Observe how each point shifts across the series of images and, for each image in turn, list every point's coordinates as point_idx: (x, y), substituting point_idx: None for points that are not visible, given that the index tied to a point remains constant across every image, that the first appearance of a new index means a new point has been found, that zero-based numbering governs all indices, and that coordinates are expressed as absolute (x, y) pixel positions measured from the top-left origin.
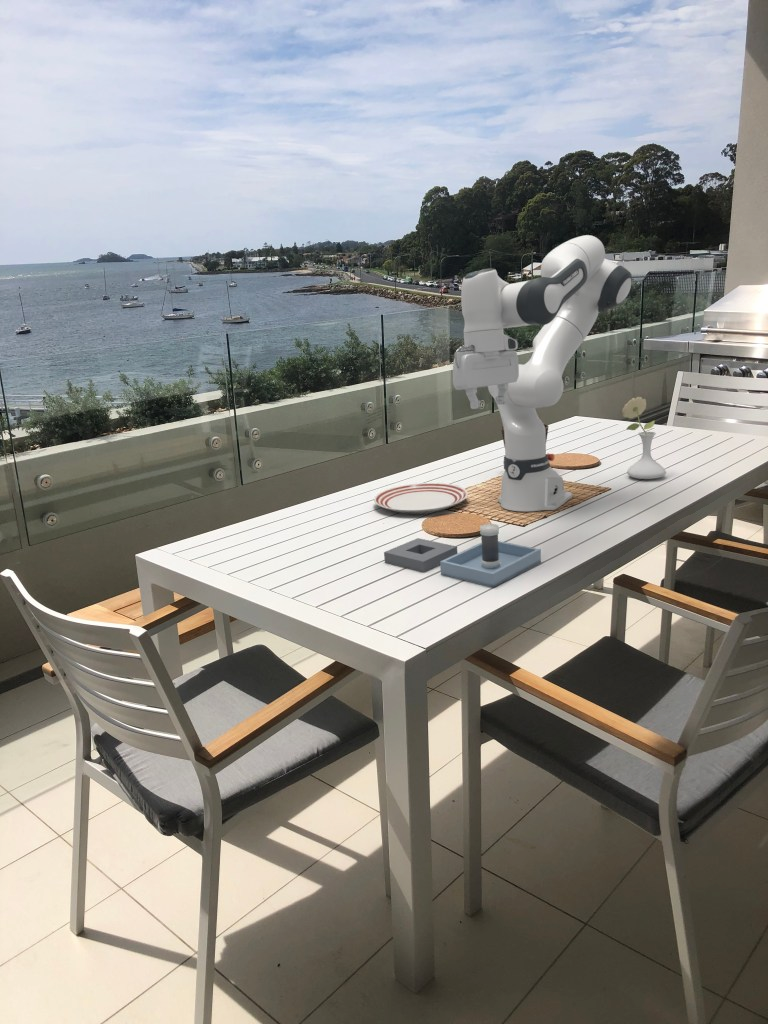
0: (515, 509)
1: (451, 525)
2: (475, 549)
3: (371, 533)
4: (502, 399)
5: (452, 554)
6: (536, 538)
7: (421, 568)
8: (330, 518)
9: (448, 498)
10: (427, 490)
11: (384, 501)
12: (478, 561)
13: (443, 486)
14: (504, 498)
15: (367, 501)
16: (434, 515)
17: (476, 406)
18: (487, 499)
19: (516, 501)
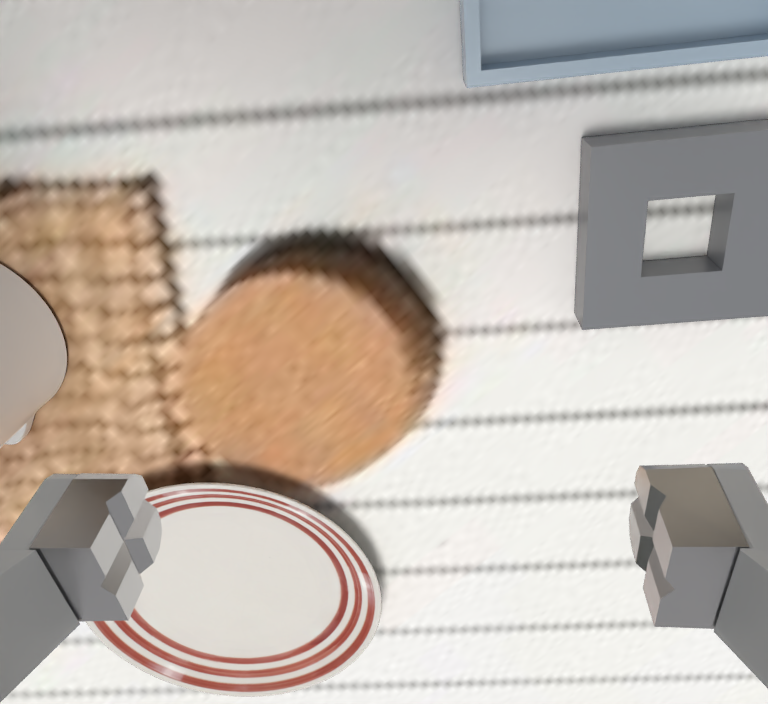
0: (51, 320)
1: (323, 385)
2: (583, 57)
3: (537, 509)
4: (96, 512)
5: (616, 138)
6: (221, 28)
7: None
8: (495, 661)
9: None
10: (150, 632)
11: (314, 649)
12: (614, 6)
13: None
14: (39, 392)
15: (319, 688)
16: (284, 488)
17: (752, 480)
18: (39, 473)
19: (28, 335)
